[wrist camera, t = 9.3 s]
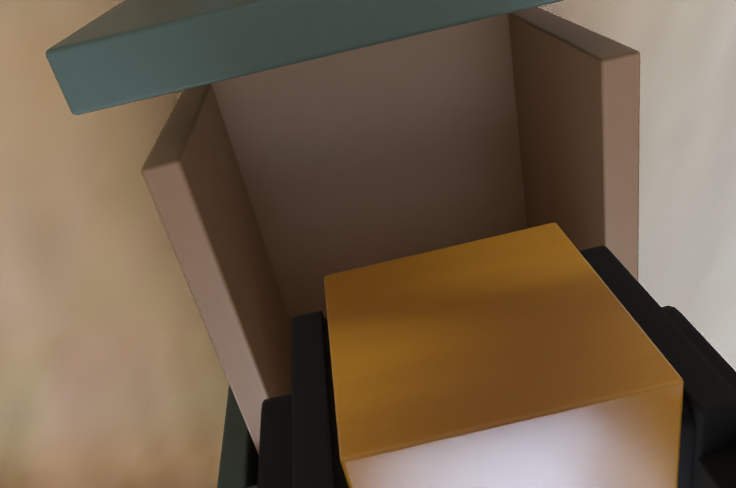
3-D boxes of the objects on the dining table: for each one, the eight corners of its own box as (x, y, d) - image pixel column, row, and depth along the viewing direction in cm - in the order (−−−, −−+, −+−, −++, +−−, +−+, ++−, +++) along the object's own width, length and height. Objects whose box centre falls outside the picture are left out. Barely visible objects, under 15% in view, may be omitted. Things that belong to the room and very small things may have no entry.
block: (370, 440, 13) (401, 650, 9) (322, 275, 11) (338, 460, 7) (566, 395, 13) (673, 587, 9) (555, 220, 11) (686, 379, 7)
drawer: (62, -196, 15) (-101, -263, 9) (527, -306, 15) (703, -453, 9) (269, 368, 24) (263, 540, 18) (564, 298, 24) (666, 445, 18)
